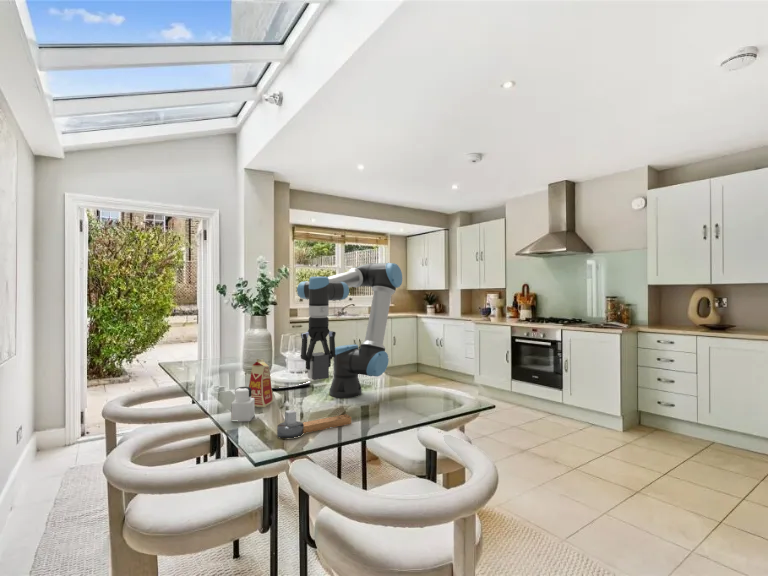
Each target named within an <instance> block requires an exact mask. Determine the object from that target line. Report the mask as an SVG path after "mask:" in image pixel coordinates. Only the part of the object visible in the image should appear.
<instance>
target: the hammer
mask: <svg viewBox="0 0 768 576" xmlns="http://www.w3.org/2000/svg"><path fill="white" fill-rule="evenodd" d="M351 424H352V416H350V415H348V414H347V413H345V414H341V415H335V416H330V417H324V418H319V419H314V420H308V421H305V422H301V421H297V411H296V410H294V409H289V410H288V409H287V410H284V422H281V423H280V422H279V424H278V425H277V427H276V433H277V435H276V436H277V437H278V438H279V437H280V439H282V438H294V437H298V436H301V435H302V434H303V433H304V434H307V433H306V432H309V433H312V431H314V432H318V430H319V431H323V430H326V428H328V429H331V428H330V427H333V428H337V426H338V427H342V426H348V425H351ZM304 434H303V435H304ZM303 435H302V436H303ZM302 436H301V437H302ZM298 438H299V437H298ZM294 439H295V438H294Z"/></svg>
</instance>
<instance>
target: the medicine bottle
mask: <svg viewBox="0 0 768 576" xmlns="http://www.w3.org/2000/svg"><path fill="white" fill-rule="evenodd" d="M254 404H255V399H254V398H251V388H250V387H249V386H238V387H237V388H235V389H234V400H233V401H232V402H231V404H230V407H231V409H230V412H231V413H230V417H231V418H230V421H231V420H238V421H237V422H250V421H252V419H253V418H254V416H255V406H254Z"/></svg>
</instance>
